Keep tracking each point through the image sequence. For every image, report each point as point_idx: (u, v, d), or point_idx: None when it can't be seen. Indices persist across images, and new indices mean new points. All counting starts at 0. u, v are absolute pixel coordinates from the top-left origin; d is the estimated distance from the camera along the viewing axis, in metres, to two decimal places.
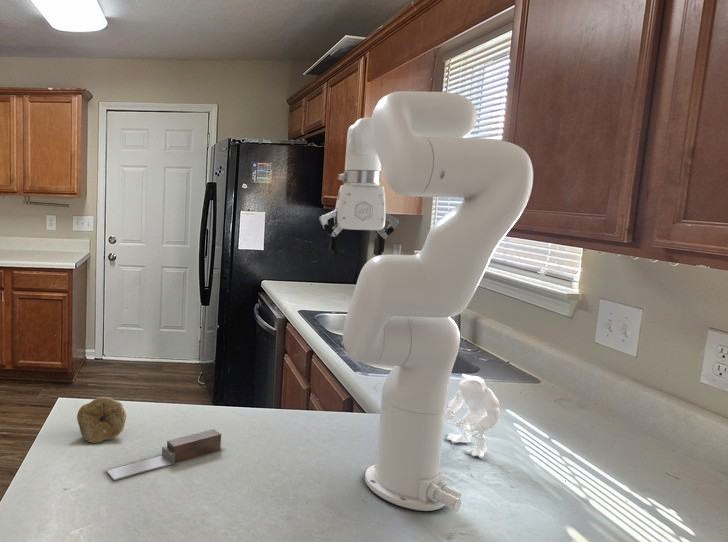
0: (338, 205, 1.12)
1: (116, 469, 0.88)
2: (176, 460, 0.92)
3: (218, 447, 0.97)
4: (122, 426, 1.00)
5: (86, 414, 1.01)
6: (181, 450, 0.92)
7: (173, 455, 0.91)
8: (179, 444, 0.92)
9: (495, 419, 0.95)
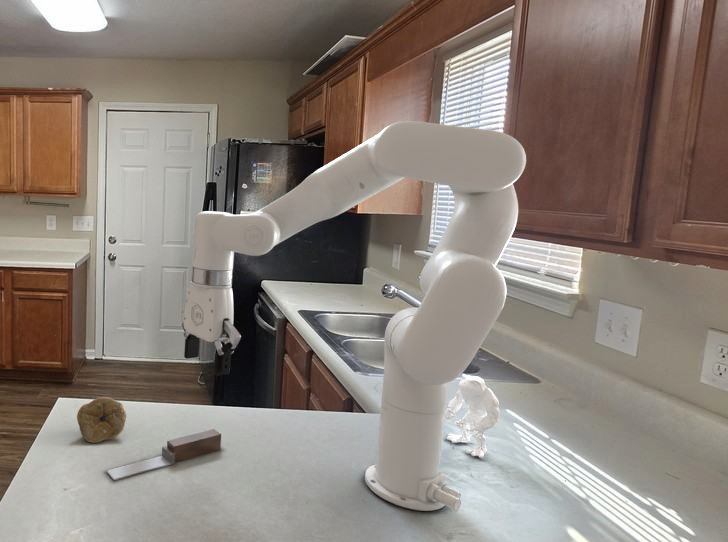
0: None
1: (116, 469, 0.88)
2: (176, 460, 0.92)
3: (218, 447, 0.97)
4: (122, 426, 1.00)
5: (86, 414, 1.01)
6: (181, 450, 0.92)
7: (173, 455, 0.91)
8: (179, 444, 0.92)
9: (495, 419, 0.95)
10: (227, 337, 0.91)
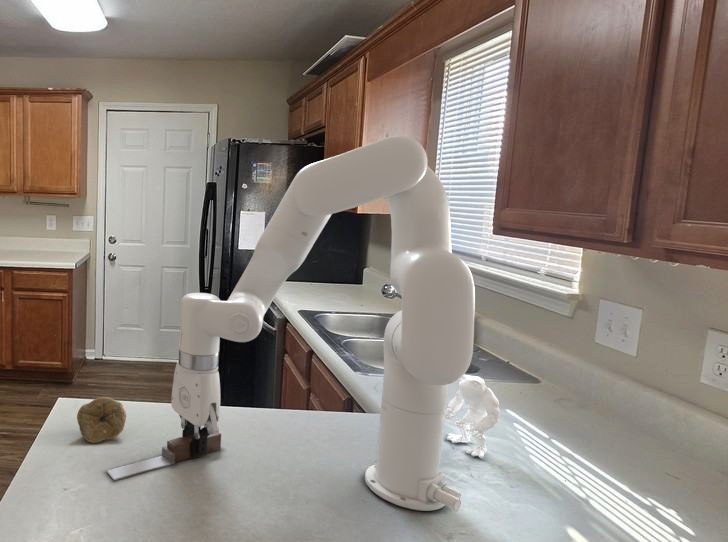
0: None
1: (116, 469, 0.88)
2: (176, 460, 0.92)
3: (218, 447, 0.97)
4: (122, 426, 1.00)
5: (86, 414, 1.01)
6: (181, 450, 0.92)
7: (173, 455, 0.91)
8: (179, 444, 0.92)
9: (495, 419, 0.95)
10: None
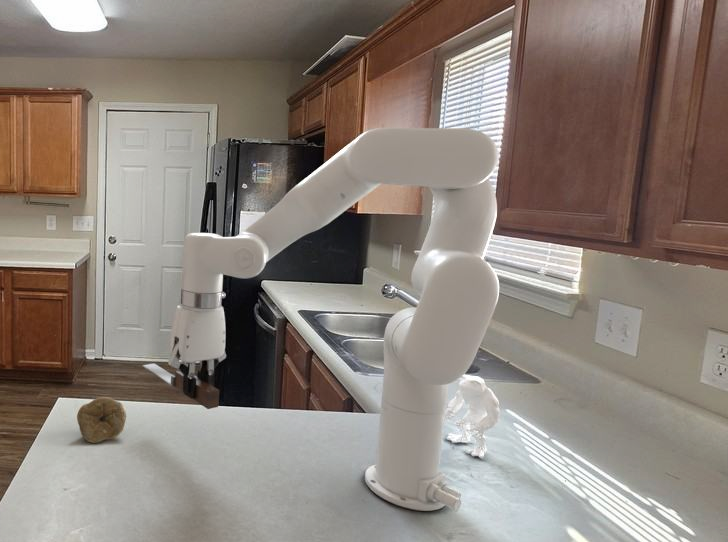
0: None
1: (156, 366, 1.09)
2: (176, 386, 0.98)
3: (206, 405, 0.89)
4: (122, 426, 1.00)
5: (86, 414, 1.01)
6: (179, 380, 0.97)
7: (172, 378, 0.98)
8: (180, 373, 0.97)
9: (495, 419, 0.95)
10: (188, 363, 0.91)
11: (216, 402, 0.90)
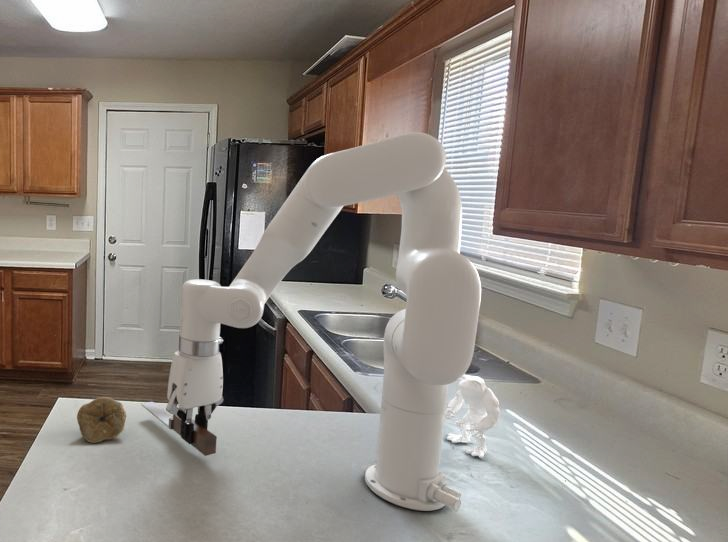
0: None
1: (154, 404, 1.10)
2: (174, 429, 0.99)
3: (203, 451, 0.90)
4: (122, 426, 1.00)
5: (86, 414, 1.01)
6: (177, 423, 0.98)
7: (170, 420, 0.99)
8: None
9: (495, 419, 0.95)
10: (186, 409, 0.92)
11: (213, 448, 0.91)
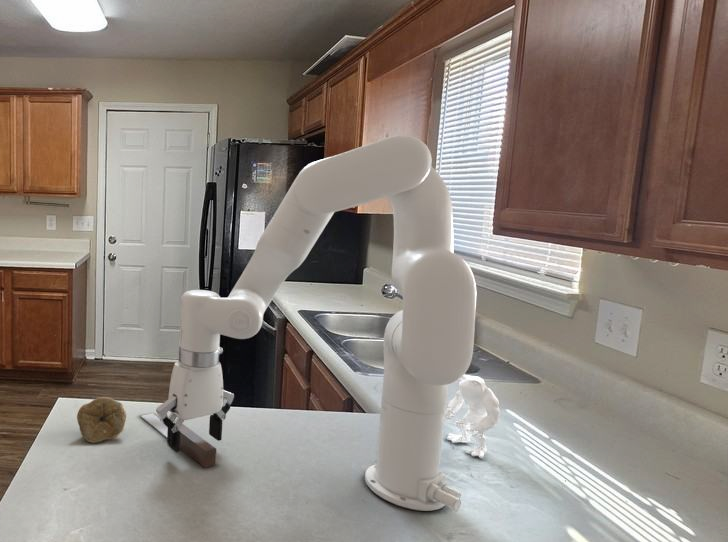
0: None
1: (154, 416, 1.10)
2: None
3: (203, 463, 0.91)
4: (122, 426, 1.00)
5: (86, 414, 1.01)
6: None
7: None
8: None
9: (495, 419, 0.95)
10: None
11: (213, 460, 0.91)
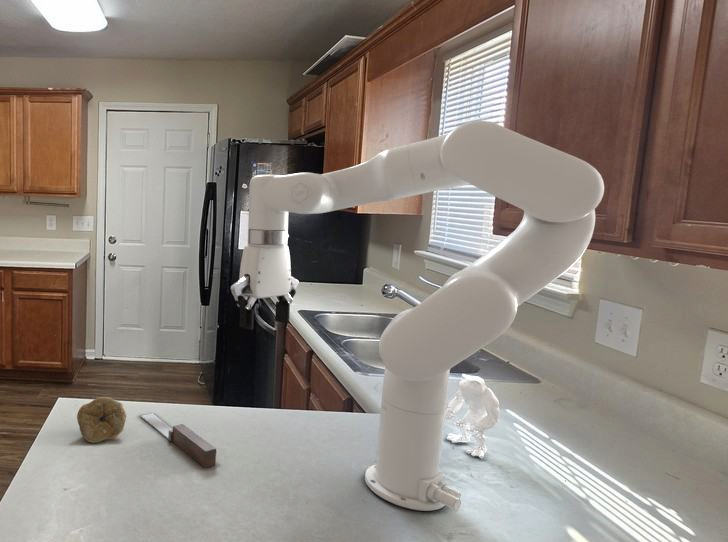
0: None
1: (154, 416, 1.10)
2: (174, 441, 0.99)
3: (203, 463, 0.91)
4: (122, 426, 1.00)
5: (86, 414, 1.01)
6: (177, 435, 0.98)
7: (169, 432, 1.00)
8: (177, 428, 0.98)
9: (495, 419, 0.95)
10: (252, 294, 0.94)
11: (213, 460, 0.91)
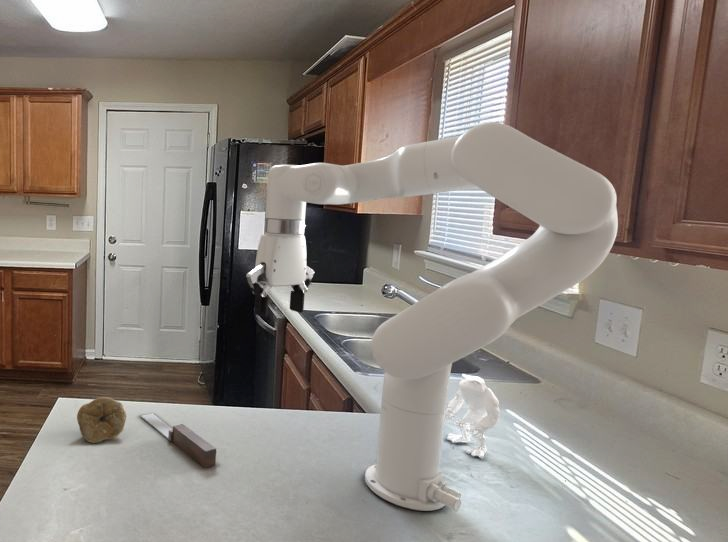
0: None
1: (154, 416, 1.10)
2: (174, 441, 0.99)
3: (203, 463, 0.91)
4: (122, 426, 1.00)
5: (86, 414, 1.01)
6: (177, 435, 0.98)
7: (169, 432, 1.00)
8: (177, 428, 0.98)
9: (495, 419, 0.95)
10: (267, 282, 0.96)
11: (213, 460, 0.91)
